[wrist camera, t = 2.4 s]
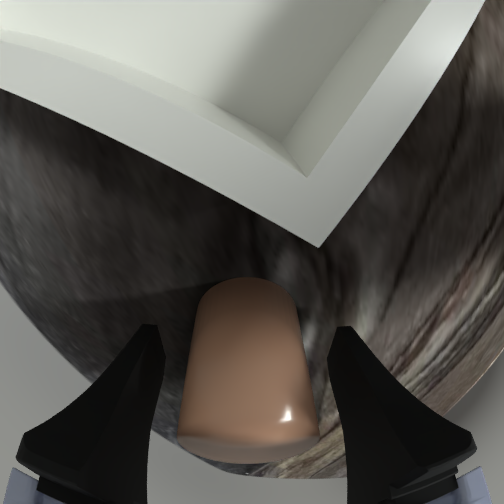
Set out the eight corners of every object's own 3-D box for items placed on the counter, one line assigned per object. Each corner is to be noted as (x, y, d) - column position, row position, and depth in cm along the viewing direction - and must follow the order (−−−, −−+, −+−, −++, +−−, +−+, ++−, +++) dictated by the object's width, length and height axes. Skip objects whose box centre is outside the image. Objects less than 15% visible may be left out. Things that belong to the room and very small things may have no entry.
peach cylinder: (316, 303, 12) (349, 428, 7) (261, 359, 14) (267, 468, 9) (226, 259, 11) (214, 400, 6) (182, 328, 13) (159, 446, 8)
